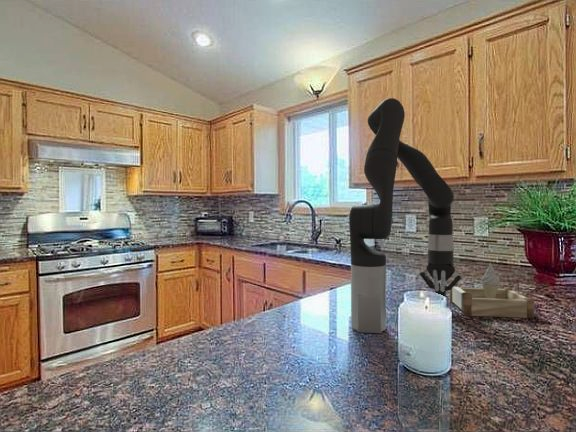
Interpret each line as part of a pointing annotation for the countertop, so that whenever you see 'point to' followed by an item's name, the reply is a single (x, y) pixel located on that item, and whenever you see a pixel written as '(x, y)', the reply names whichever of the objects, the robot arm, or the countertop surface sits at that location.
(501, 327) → the countertop surface
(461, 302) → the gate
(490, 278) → the ice cream cone
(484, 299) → the shallow wooden tray
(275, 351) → the countertop surface
